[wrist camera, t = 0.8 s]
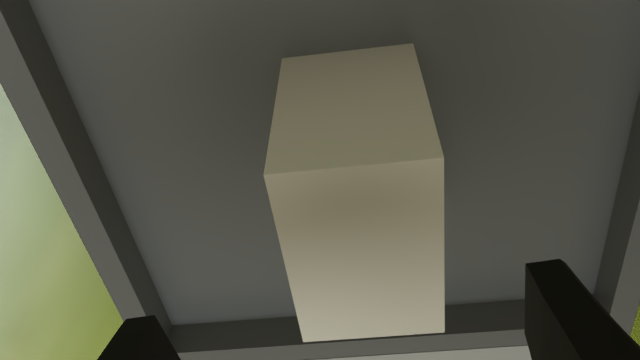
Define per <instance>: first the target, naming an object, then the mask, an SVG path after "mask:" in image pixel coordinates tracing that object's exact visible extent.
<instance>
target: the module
mask: <svg viewBox="0 0 640 360" xmlns="http://www.w3.org/2000/svg"><path fill="white" fill-rule="evenodd" d="M264 179H265V184H266V188H267V192H268V196H269V200H270V205H271V209H272V213H273V217H274V222H275V226H276V230H277V234H278V238H279V243H280V247H281V251H282V255H283V259H284V264H285V268H286V272H287V276H288V280H289V285H290V289H291V293H292V297H293V302H294V306H295V310H296V314H297V318H298V323H299V327H300V331H301V335H302V339H303V342H314V341H328V340H343V339H357V338H372V337H386V336H401V335H415V334H430V333H444V332H445V283H444V155H443V151H442V148H441V144H440V140H439V137H438V133H437V129H436V126H435V122H434V118H433V114H432V111H431V107H430V103H429V100H428V96H427V92H426V89H425V85H424V81H423V77H422V74H421V70H420V66H419V63H418V59H417V55H416V51H415V48H414V44H413V43H410V44H401V45H393V46H384V47H375V48H367V49H358V50H349V51H340V52H332V53H323V54H314V55H306V56H297V57H288V58H282V61H281V68H280V74H279V80H278V87H277V93H276V99H275V106H274V112H273V118H272V124H271V131H270V137H269V143H268V150H267V156H266V162H265V168H264Z"/></svg>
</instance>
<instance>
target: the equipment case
mask: <svg viewBox="0 0 640 360" xmlns="http://www.w3.org/2000/svg"><path fill="white" fill-rule="evenodd" d="M410 43H413V44H414V48H415V51H416V55H417V59H418V63H419V66H420V70H421V74H422V77H423V81H424V85H425V89H426V92H427V96H428V100H429V103H430V107H431V111H432V114H433V118H434V122H435V126H436V129H437V133H438V137H439V140H440V144H441V148H442V151H443V155H444V283H445V332H444V333H430V334H415V335H401V336H386V337H372V338H357V339H343V340H328V341H314V342H303V339H302V335H301V331H300V327H299V323H298V318H297V314H296V310H295V306H294V302H293V297H292V293H291V289H290V285H289V280H288V276H287V272H286V268H285V264H284V259H283V255H282V251H281V247H280V243H279V238H278V234H277V230H276V226H275V222H274V217H273V213H272V209H271V205H270V200H269V196H268V192H267V188H266V184H265V179H264V168H265V162H266V156H267V150H268V143H269V137H270V131H271V124H272V118H273V112H274V106H275V99H276V93H277V87H278V80H279V74H280V68H281V61H282V58H288V57H297V56H306V55H314V54H323V53H332V52H340V51H349V50H358V49H367V48H375V47H384V46H393V45H401V44H410ZM0 83H1V85H2V87H3V89H4V91H5V93H6V95H7V97H8V99H9V100H10V102H11V104H12V106H13V108H14V110H15V112H16V114H17V116H18V118H19V120H20V122H21V124H22V126H23V128H24V130H25V131H26V133H27V135H28V137H29V139H30V141H31V143H32V145H33V147H34V149H35V151H36V153H37V155H38V157H39V159H40V160H41V162H42V164H43V166H44V168H45V170H46V172H47V174H48V176H49V178H50V180H51V182H52V184H53V186H54V188H55V189H56V191H57V193H58V195H59V197H60V199H61V201H62V203H63V205H64V207H65V209H66V211H67V213H68V215H69V217H70V218H71V220H72V222H73V224H74V226H75V228H76V230H77V232H78V234H79V236H80V238H81V240H82V242H83V244H84V246H85V247H86V249H87V251H88V253H89V255H90V257H91V259H92V261H93V263H94V265H95V267H96V269H97V271H98V273H99V275H100V276H101V278H102V280H103V282H104V284H105V286H106V288H107V290H108V292H109V294H110V296H111V298H112V300H113V302H114V304H115V305H116V307H117V309H118V311H119V313H120V315H121V317H122V319H123V321H125V320H126V319H129V318H136V317H143V316H150V315H155V316H156V318H157V320H158V322H159V323H160V325H161V327H162V328H163V330H164V332H165V334H166V335H167V337H168V339H169V340H170V342H171V344H172V345H173V347H174V349H175V351H176V352H177V354H178V356H179V357H180V359H181V360H532V359H531V355H530V351H529V348H528V344H527V340H526V337H525V333H524V330H525V263H532V262H540V261H547V260H554V259H561V260H563V261H564V262H566V264H567V265H568V266H569V267H570V269H571V270H572V271H573V272H574V274H575V275H576V276H577V277H578V279H579V280H580V281H581V282H582V283H583V285H584V286H585V287H586V288H587V289H588V291H589V292H590V293H591V294H592V295H593V296H594V298H595V299H596V300H597V301H598V302H599V303H600V304H601V305H602V307H603V308H604V309H605V310H606V311H607V312H608V313H609V314H610V316H611V317H612V318H613V319H614V320H615V321H616V322H617V323H618V324H619V325H620V326H621V328H622V329H623V330H624V331H625V332H626V333H627V334H628V335H629V336H630V333H631V330H632V327H633V323H634V320H635V317H636V313H637V310H638V307H639V303H640V0H0Z"/></svg>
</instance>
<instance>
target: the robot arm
mask: <svg viewBox="0 0 640 360" xmlns="http://www.w3.org/2000/svg"><path fill="white" fill-rule="evenodd" d="M524 333H525V337H526V340H527V344H528V348H529V351H530V355H531V359H532V360H640V346H639V345H638V344H637V343H636V342H635V341H634V340H633V339H632V338H631V337H630V336H629V335H628V334H627V333H626V332H625V331H624V330H623V329H622V328H621V326H620V325H619V324H618V323H617V322H616V321H615V320H614V319H613V318H612V317H611V316H610V314H609V313H608V312H607V311H606V310H605V309H604V308H603V307H602V305H601V304H600V303H599V302H598V301H597V300H596V299H595V298H594V296H593V295H592V294H591V293H590V292H589V291H588V289H587V288H586V287H585V286H584V285H583V283H582V282H581V281H580V280H579V279H578V277H577V276H576V275H575V274H574V272H573V271H572V270H571V269H570V267H569V266H568V265H567V264H566V262H564V261H563V260H561V259H554V260H547V261H540V262H532V263H525V330H524ZM97 360H181V359H180V357H179V356H178V354H177V352H176V351H175V349H174V347H173V345H172V344H171V342H170V340H169V339H168V337H167V335H166V334H165V332H164V330H163V328H162V327H161V325H160V323H159V322H158V320H157V318H156V316H155V315H150V316H143V317H136V318H129V319H126V320H125V321H124V322H123V324H122V325H121V327H120V328H119V329H118V331H117V332H116V334H115V335H114V336H113V338H112V339H111V341H110V342H109V343H108V345H107V346H106V348H105V349H104V351H103V352H102V354H101V355H100V356H99V358H98V359H97Z"/></svg>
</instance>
